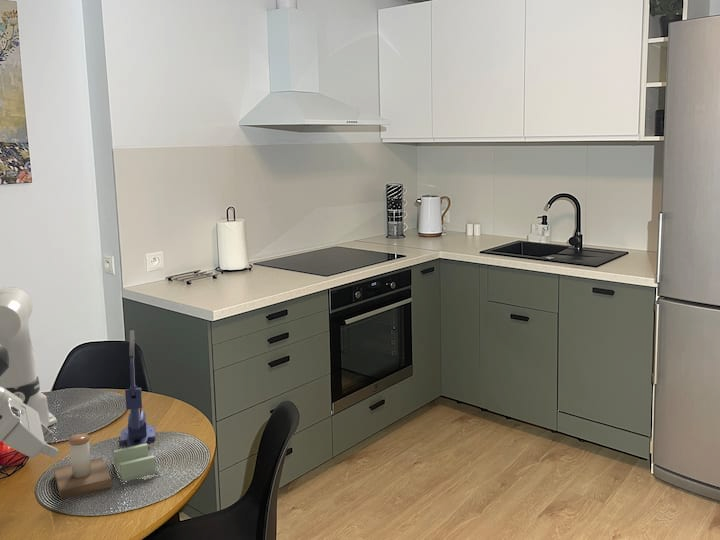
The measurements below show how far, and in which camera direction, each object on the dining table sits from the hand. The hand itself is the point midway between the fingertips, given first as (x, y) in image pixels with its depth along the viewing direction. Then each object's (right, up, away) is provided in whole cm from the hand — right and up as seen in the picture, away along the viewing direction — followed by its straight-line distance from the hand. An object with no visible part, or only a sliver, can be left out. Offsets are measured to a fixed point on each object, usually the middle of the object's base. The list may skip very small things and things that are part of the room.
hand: (54, 445), depth 155 cm
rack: (+14, -9, +12) cm, 21 cm away
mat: (+14, -9, +12) cm, 21 cm away
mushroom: (+4, -8, +6) cm, 11 cm away
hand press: (+10, -6, +29) cm, 31 cm away
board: (+4, -11, +6) cm, 13 cm away
